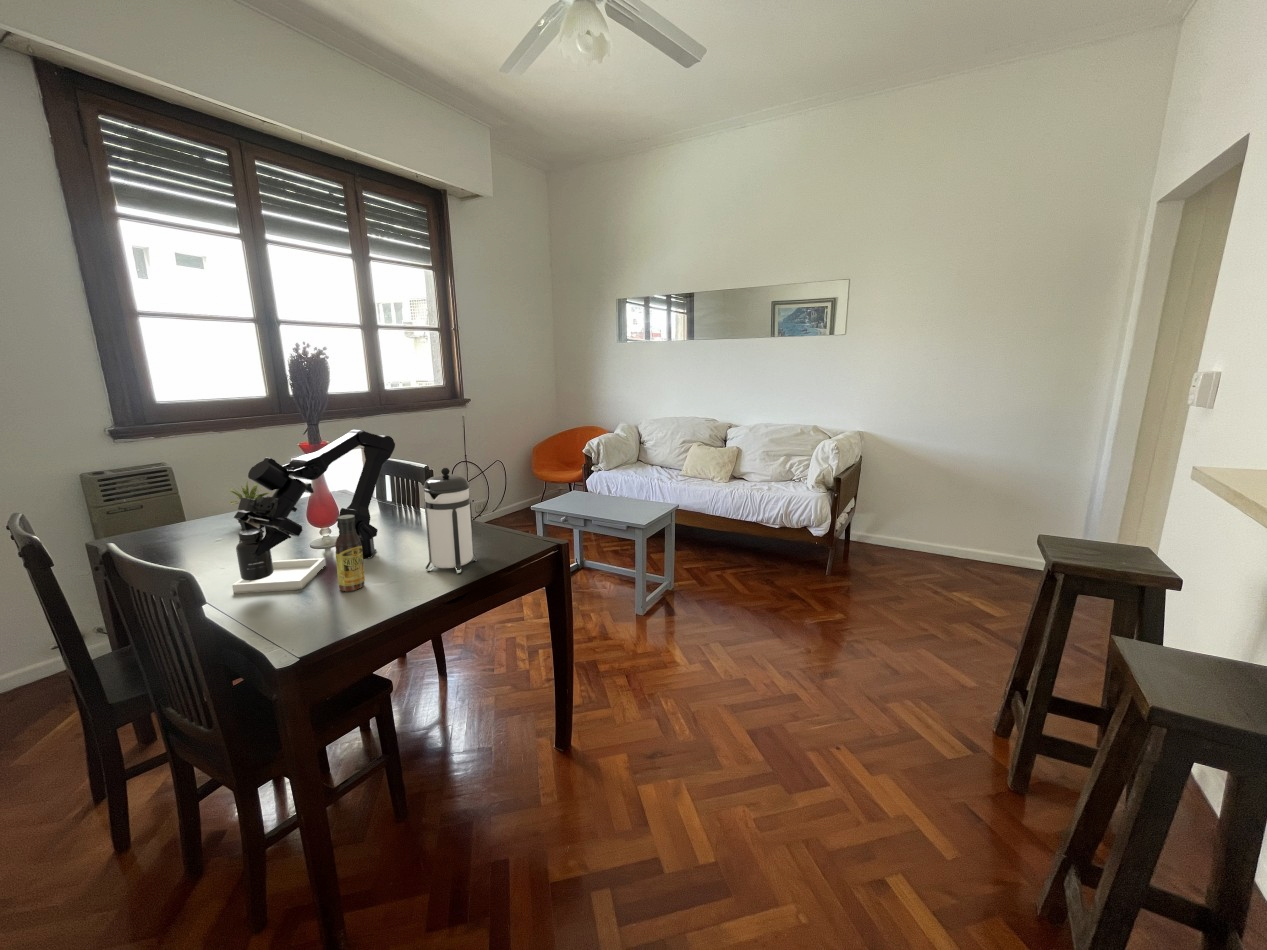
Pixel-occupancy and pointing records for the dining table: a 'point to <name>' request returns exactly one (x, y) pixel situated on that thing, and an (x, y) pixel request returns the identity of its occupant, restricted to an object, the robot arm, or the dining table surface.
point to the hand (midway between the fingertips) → (247, 553)
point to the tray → (283, 576)
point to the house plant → (246, 493)
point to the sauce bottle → (349, 555)
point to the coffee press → (448, 520)
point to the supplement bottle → (253, 556)
